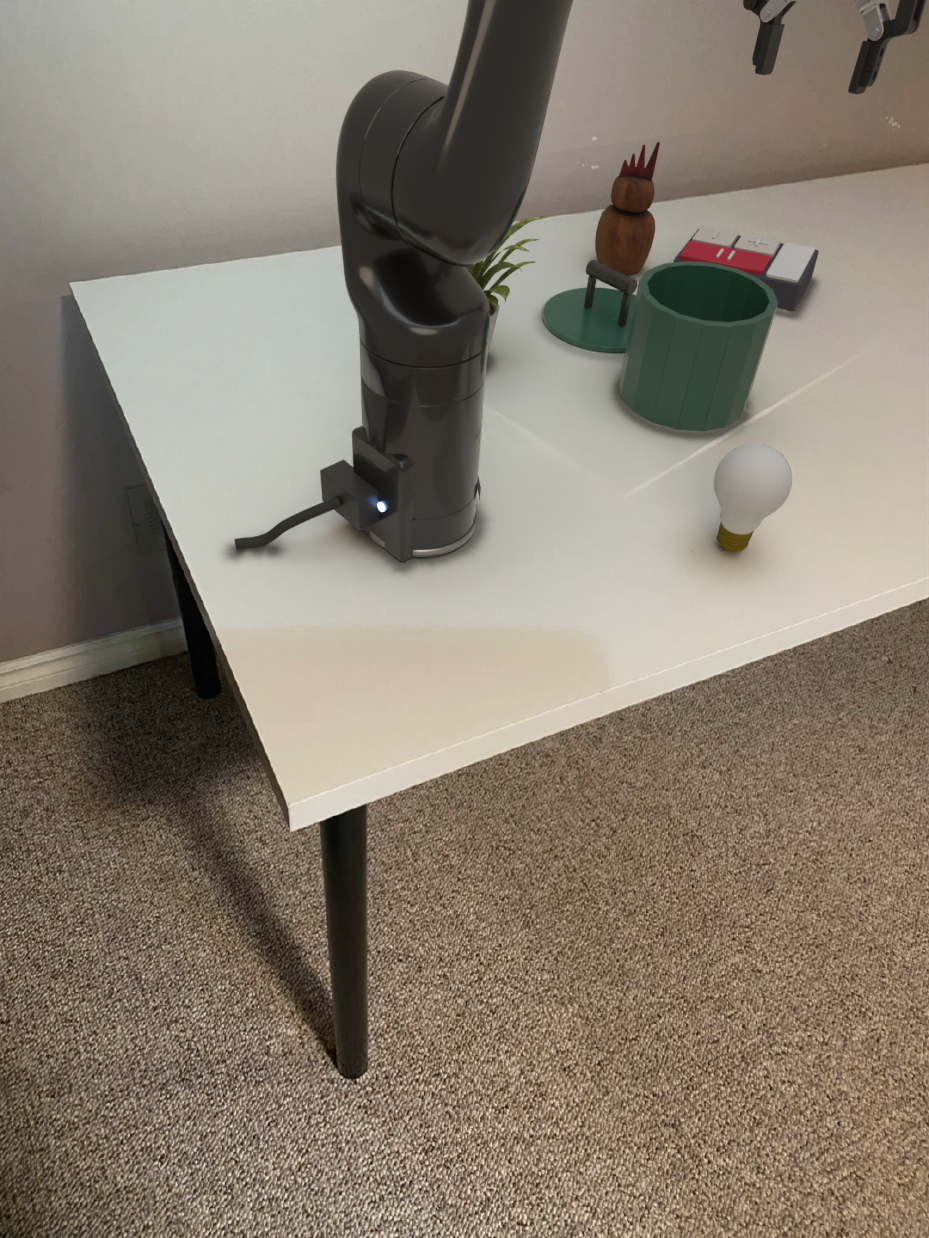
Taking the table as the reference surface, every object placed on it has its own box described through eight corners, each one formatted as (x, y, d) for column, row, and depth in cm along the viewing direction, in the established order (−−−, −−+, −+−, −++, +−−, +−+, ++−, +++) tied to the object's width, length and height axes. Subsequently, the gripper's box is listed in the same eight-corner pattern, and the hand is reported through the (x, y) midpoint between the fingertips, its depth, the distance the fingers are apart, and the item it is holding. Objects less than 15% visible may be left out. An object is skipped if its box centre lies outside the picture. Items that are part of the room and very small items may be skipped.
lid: (608, 371, 96) (619, 313, 92) (516, 320, 103) (522, 263, 98) (689, 332, 103) (702, 276, 99) (597, 286, 110) (606, 231, 105)
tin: (692, 451, 87) (722, 340, 79) (593, 393, 93) (611, 285, 85) (768, 405, 93) (804, 298, 85) (671, 354, 100) (695, 249, 91)
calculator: (699, 221, 116) (821, 243, 111) (693, 255, 119) (812, 278, 114) (673, 253, 109) (802, 279, 104) (668, 289, 112) (792, 315, 107)
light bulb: (765, 577, 75) (804, 479, 68) (693, 565, 76) (724, 466, 69) (764, 532, 79) (800, 434, 72) (695, 520, 80) (724, 422, 73)
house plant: (568, 366, 97) (591, 208, 85) (479, 417, 89) (491, 251, 78) (468, 316, 103) (477, 163, 91) (378, 360, 96) (375, 199, 84)
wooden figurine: (653, 270, 114) (680, 140, 103) (633, 287, 110) (659, 154, 99) (604, 255, 116) (625, 126, 105) (583, 271, 112) (603, 140, 102)
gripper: (767, -176, 69) (713, 71, 79) (957, -165, 63) (872, 104, 73) (809, -167, 74) (753, 66, 84) (990, -155, 67) (906, 96, 77)
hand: (808, 83), depth 78 cm, fingers open, 8 cm apart
